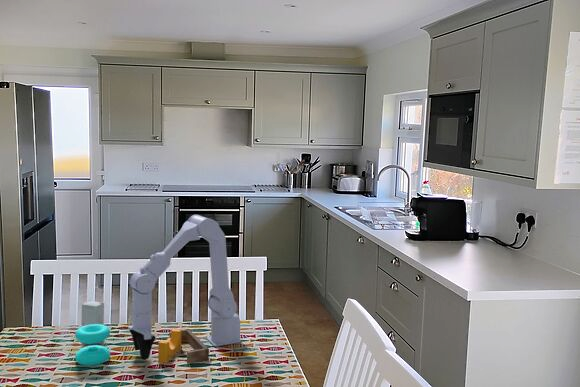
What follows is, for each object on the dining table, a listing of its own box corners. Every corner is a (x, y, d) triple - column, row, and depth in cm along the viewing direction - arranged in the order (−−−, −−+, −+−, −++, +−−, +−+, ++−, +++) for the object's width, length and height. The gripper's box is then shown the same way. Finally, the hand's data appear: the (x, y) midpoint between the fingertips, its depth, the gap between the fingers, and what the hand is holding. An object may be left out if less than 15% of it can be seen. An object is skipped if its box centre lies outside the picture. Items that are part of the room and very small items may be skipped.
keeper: (188, 338, 186) (188, 328, 185) (208, 359, 169) (208, 348, 169) (169, 341, 182) (169, 331, 182) (187, 363, 166) (188, 352, 166)
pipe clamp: (168, 347, 178) (168, 328, 178) (181, 348, 178) (181, 329, 177) (152, 362, 167) (152, 341, 166) (166, 363, 166) (166, 343, 165)
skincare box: (80, 339, 182) (80, 304, 181) (88, 334, 186) (88, 300, 185) (96, 342, 180) (96, 306, 179) (104, 337, 185) (104, 302, 183)
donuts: (117, 325, 168) (94, 336, 159) (117, 357, 169) (94, 369, 160) (91, 320, 172) (67, 331, 162) (91, 351, 173) (67, 363, 164)
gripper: (123, 305, 171) (123, 347, 173) (134, 320, 159) (134, 365, 160) (145, 303, 175) (145, 344, 176) (158, 317, 162) (158, 361, 164)
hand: (141, 354), depth 168 cm, fingers open, 7 cm apart
